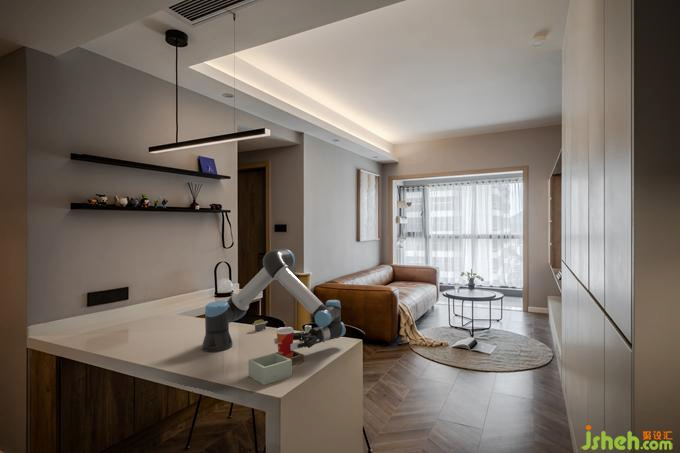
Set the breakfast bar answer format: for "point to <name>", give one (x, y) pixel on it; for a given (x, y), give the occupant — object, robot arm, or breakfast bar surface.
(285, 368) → the box
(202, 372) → the breakfast bar surface
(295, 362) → the walnut collar
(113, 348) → the breakfast bar surface
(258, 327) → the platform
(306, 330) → the valve
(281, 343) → the coffee cup
